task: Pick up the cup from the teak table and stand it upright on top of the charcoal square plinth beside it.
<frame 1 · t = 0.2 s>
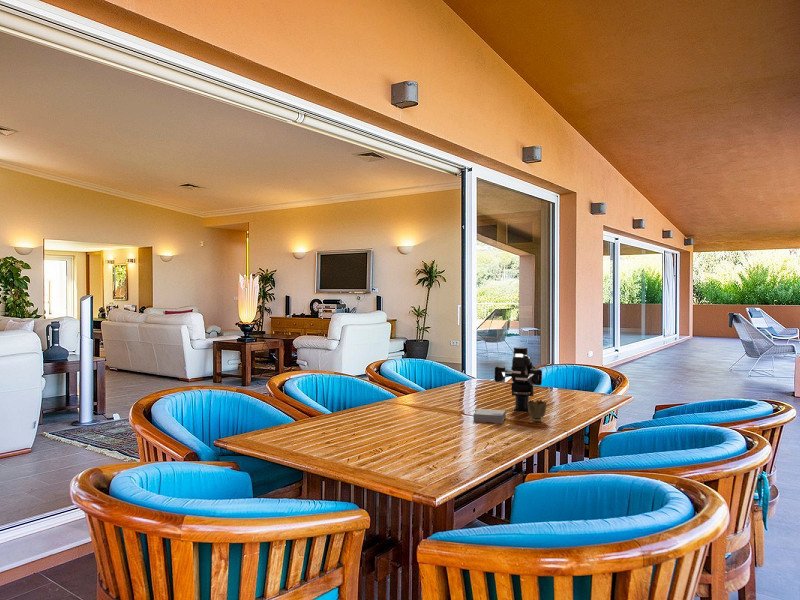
hand: (515, 379, 223), 17 cm above the table, tool horizontal, fingers open, 9 cm apart
plinth: (489, 419, 227), on the table
cup: (536, 422, 223), on the table
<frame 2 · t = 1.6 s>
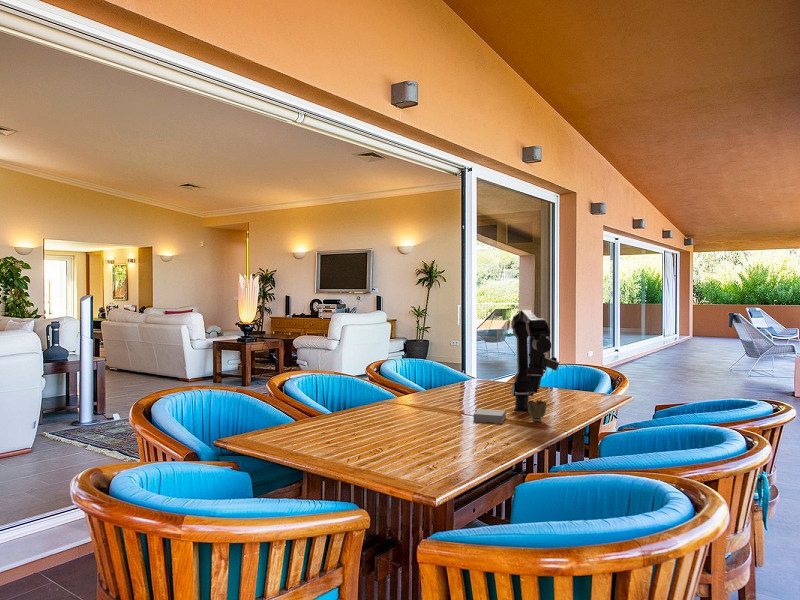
hand: (536, 390, 223), 12 cm above the table, tool pointing down, fingers open, 9 cm apart
nothing on the table moved.
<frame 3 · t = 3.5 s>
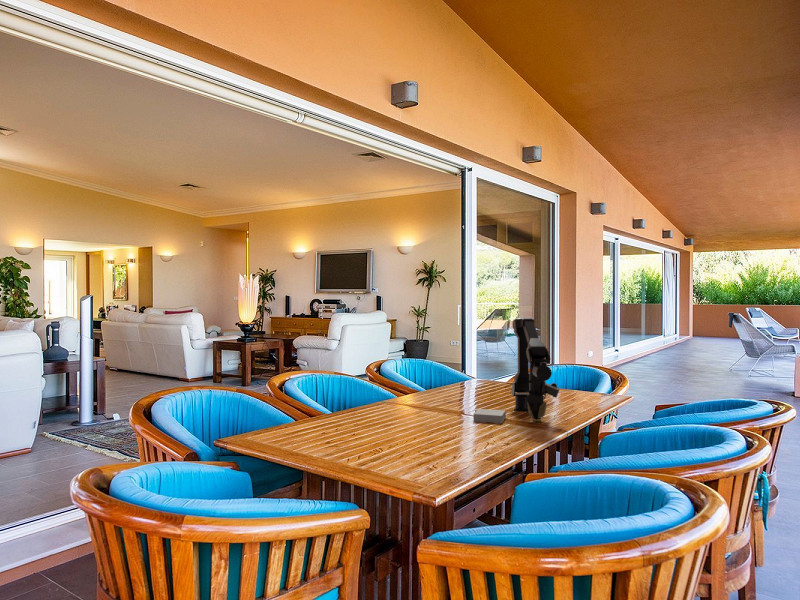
hand: (536, 417, 223), 2 cm above the table, tool pointing down, fingers closed on cup, 6 cm apart
cup: (536, 422, 223), on the table, touching gripper
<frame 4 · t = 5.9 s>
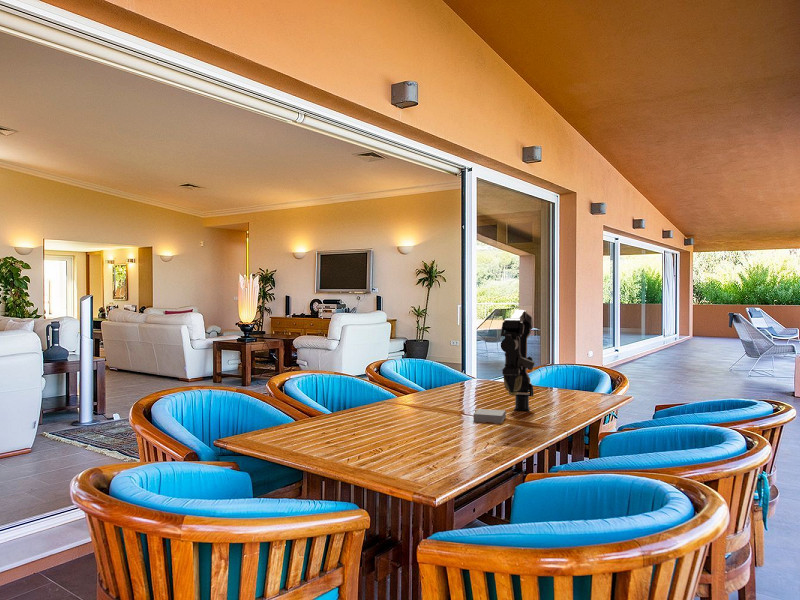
hand: (512, 390, 225), 12 cm above the table, tool pointing down, fingers closed on cup, 6 cm apart
cup: (512, 395, 225), point 10 cm above the table, touching gripper
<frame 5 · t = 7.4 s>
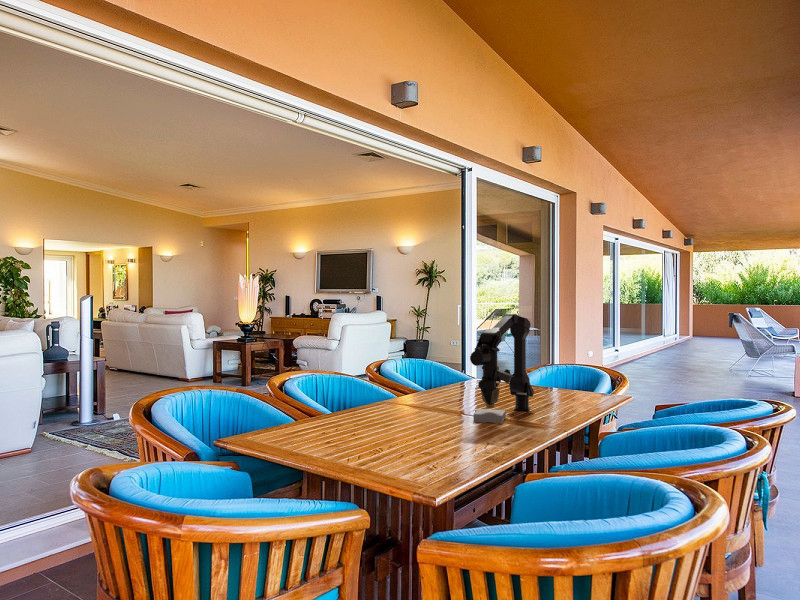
hand: (490, 402, 227), 7 cm above the table, tool pointing down, fingers closed on cup, 6 cm apart
cup: (490, 407, 227), point 5 cm above the table, touching gripper
when the fingers open (6 cm above the table, at t = 8.4 s): cup drops 1 cm, resting on plinth.
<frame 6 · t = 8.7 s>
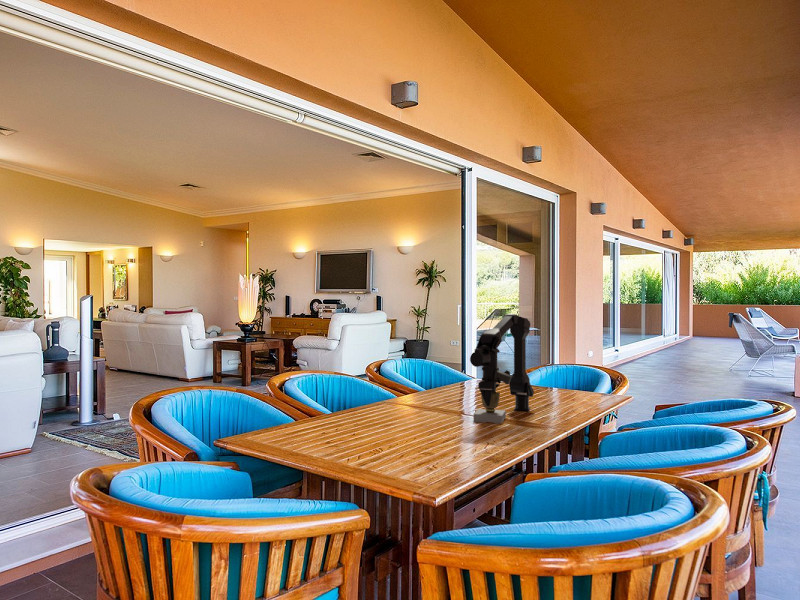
hand: (489, 403, 227), 6 cm above the table, tool pointing down, fingers open, 9 cm apart
cup: (490, 412, 227), point 3 cm above the table, touching plinth
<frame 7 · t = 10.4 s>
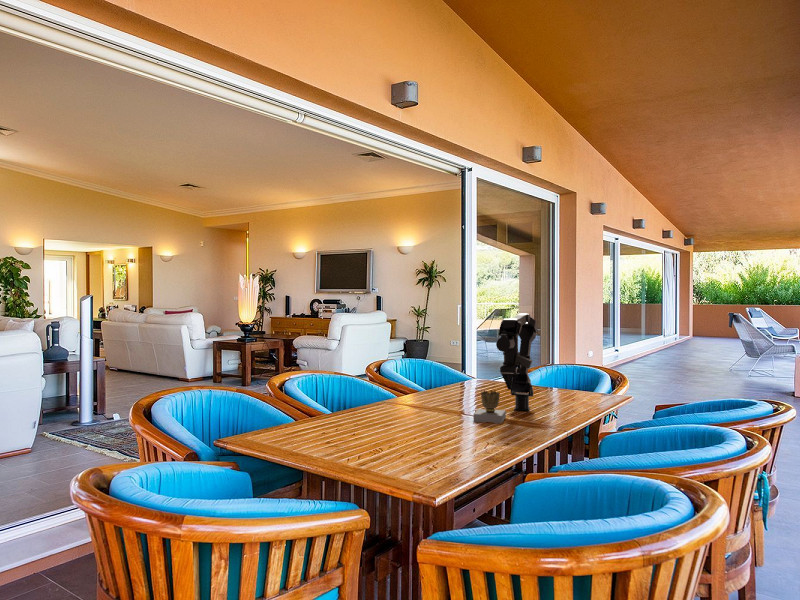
hand: (511, 387, 233), 12 cm above the table, tool pointing down, fingers open, 9 cm apart
nothing on the table moved.
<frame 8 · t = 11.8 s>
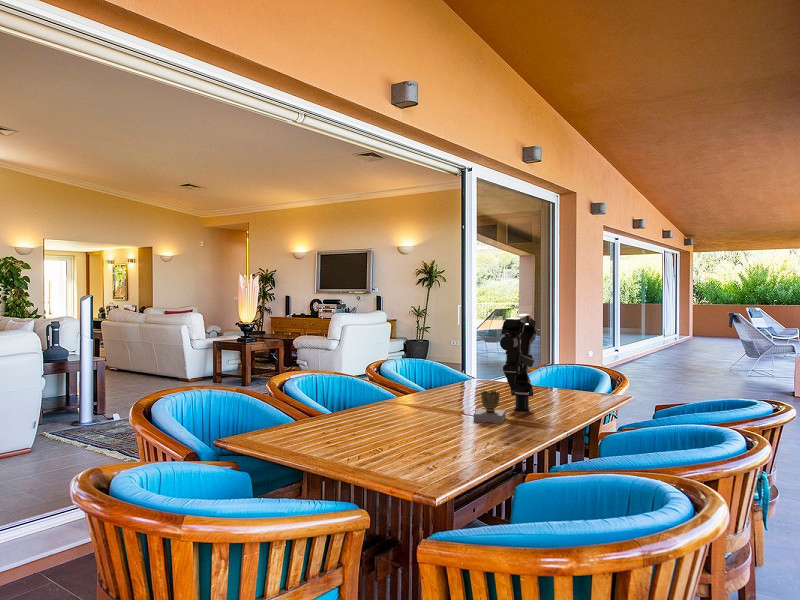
hand: (513, 386, 234), 12 cm above the table, tool pointing down, fingers open, 9 cm apart
nothing on the table moved.
at the end: cup inside the target area on the plinth (0.2 cm from its centre), point 2.8 cm above the plinth's base; cup tilted 0°; the gripper is holding nothing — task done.
